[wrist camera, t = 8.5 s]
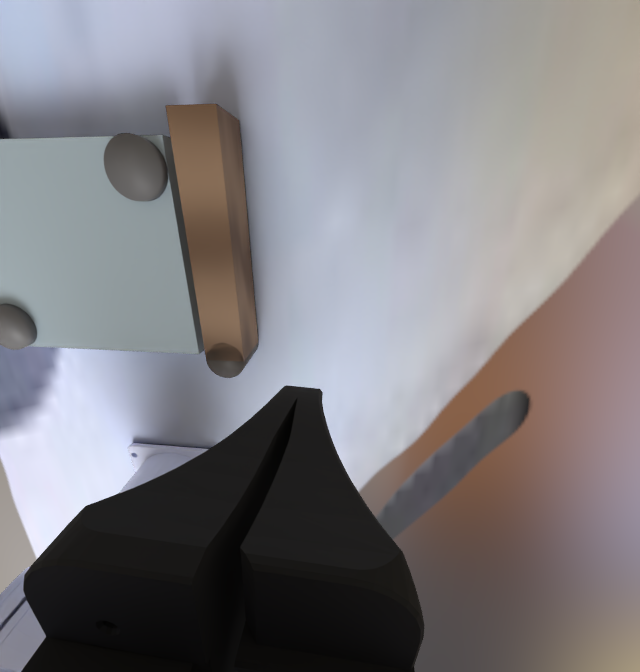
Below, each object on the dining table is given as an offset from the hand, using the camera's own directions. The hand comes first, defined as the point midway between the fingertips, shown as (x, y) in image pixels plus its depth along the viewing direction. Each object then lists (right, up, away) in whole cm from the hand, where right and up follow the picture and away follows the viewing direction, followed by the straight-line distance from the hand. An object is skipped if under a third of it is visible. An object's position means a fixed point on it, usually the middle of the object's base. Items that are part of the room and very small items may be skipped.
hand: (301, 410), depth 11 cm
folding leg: (-5, +8, +8) cm, 12 cm away
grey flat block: (-14, +8, +10) cm, 19 cm away
